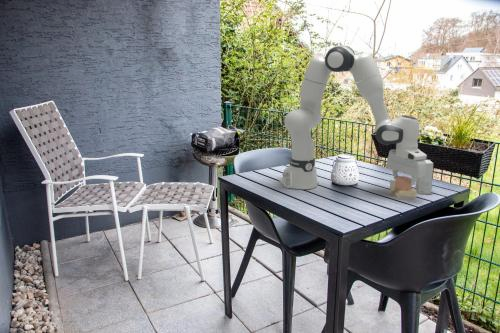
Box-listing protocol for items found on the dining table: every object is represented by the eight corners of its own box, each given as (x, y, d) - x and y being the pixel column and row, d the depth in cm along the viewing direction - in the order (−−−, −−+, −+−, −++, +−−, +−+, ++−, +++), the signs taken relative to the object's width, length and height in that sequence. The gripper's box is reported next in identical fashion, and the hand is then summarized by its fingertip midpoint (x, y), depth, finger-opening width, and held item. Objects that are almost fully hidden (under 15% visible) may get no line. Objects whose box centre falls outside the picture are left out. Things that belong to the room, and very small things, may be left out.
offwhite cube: (389, 189, 184) (390, 179, 182) (395, 187, 187) (395, 177, 185) (398, 191, 180) (399, 181, 179) (404, 189, 183) (405, 179, 182)
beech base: (390, 194, 177) (390, 186, 176) (405, 193, 178) (406, 185, 177) (399, 200, 169) (400, 191, 168) (416, 198, 170) (416, 190, 169)
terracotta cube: (394, 187, 174) (395, 177, 172) (403, 186, 176) (404, 175, 174) (403, 190, 169) (403, 179, 168) (411, 189, 171) (412, 178, 170)
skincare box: (431, 194, 174) (434, 163, 171) (417, 194, 176) (420, 162, 172) (427, 189, 182) (430, 159, 179) (414, 188, 184) (416, 158, 180)
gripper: (384, 148, 177) (382, 177, 180) (418, 157, 158) (415, 189, 162) (395, 147, 179) (392, 175, 182) (430, 156, 160) (426, 187, 164)
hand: (403, 182), depth 172 cm, fingers open, 8 cm apart
